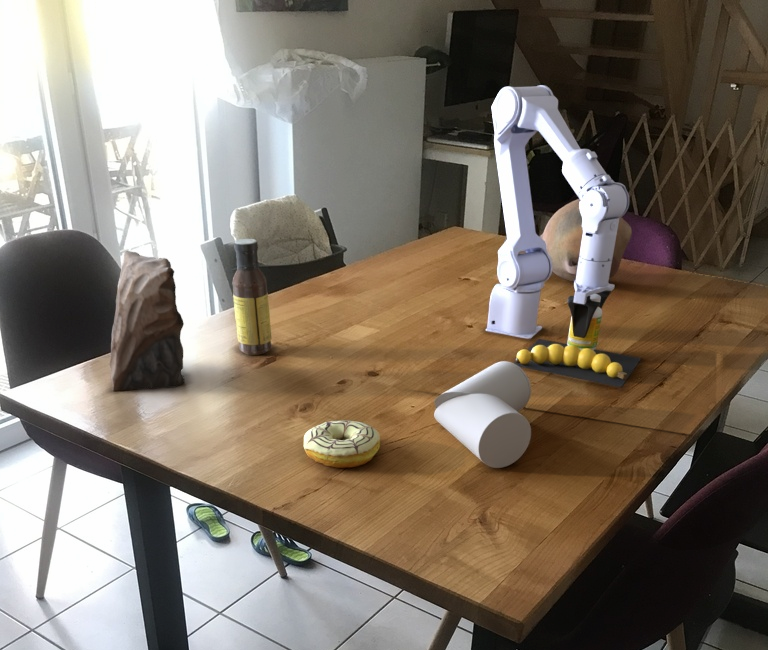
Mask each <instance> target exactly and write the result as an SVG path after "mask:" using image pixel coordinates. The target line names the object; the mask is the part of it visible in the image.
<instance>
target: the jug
mask: <svg viewBox="0 0 768 650" xmlns="http://www.w3.org/2000/svg"><path fill="white" fill-rule="evenodd" d="M580 201H581V200H580V199H579V198H577V199H575V200H572V201H570V202H568V203H567V204H565V205H564V206H562V207H561V208H559V209H558V210H557V211H556V212H554V214H552V216H551V217H550V219H549V220H548V222H547V223H546V225H545V227H544V230H543V232H542V234H540V235H538V236H539V237H540V238H541V239H542V240H544V241H545V242H546V247H547V252H548V254H549V256H550V258H551V260H552V273H553V274H555V276H557V277H559V278H561V279H564V280H567V281H569V282H573V283H574V281H575V280H576V275H577V268H578V262H579V255H580V249H581V242H582V235H583V227H582V216H581V213H580V208H579V203H580ZM632 231H633V230H632V227H631V225H630V224H629V223H628V222H627V221H626V220H625V219H624V218H623V216H622V217H620V218H619V223H618V229H617V235H616V241H615V247H614V252H613V258H612V264H611V269H610V275H609V280H610V279H612V278H613V277H615V276H616V274H617V273H618V271H619V268H620V265H621V262H622V259H623V256H624V253H625V251H626V249H627V246H628V244H629V242H630V241H631V239H632V233H633V232H632ZM506 240H507V236H506V237H505V239H504V243H505V242H506ZM522 253H527V252H526V251H520V252H519V253H518V254H522Z"/></svg>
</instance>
